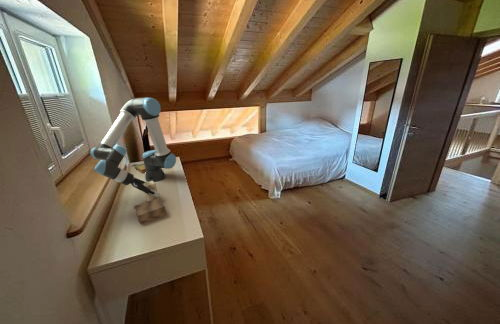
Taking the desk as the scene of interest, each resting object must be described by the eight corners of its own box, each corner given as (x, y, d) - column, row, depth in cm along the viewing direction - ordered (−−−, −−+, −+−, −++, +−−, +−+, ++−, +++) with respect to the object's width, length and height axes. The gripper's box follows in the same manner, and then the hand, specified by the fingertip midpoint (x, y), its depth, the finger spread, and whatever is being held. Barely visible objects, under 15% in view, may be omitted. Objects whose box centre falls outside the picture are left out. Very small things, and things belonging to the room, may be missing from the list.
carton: (142, 174, 184) (141, 169, 183) (135, 170, 194) (134, 165, 193) (152, 170, 190) (150, 166, 189) (144, 167, 200) (143, 162, 199)
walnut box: (161, 206, 133) (159, 198, 131) (166, 215, 124) (164, 206, 122) (136, 214, 126) (133, 206, 123) (140, 225, 116) (137, 215, 114)
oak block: (155, 196, 145) (152, 180, 141) (159, 199, 141) (155, 183, 137) (146, 199, 141) (142, 183, 137) (150, 202, 137) (146, 186, 133)
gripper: (118, 176, 135) (149, 190, 149) (122, 189, 118) (157, 203, 132) (125, 167, 136) (156, 182, 150) (130, 178, 119) (164, 193, 133)
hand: (156, 192), depth 141 cm, fingers open, 9 cm apart
